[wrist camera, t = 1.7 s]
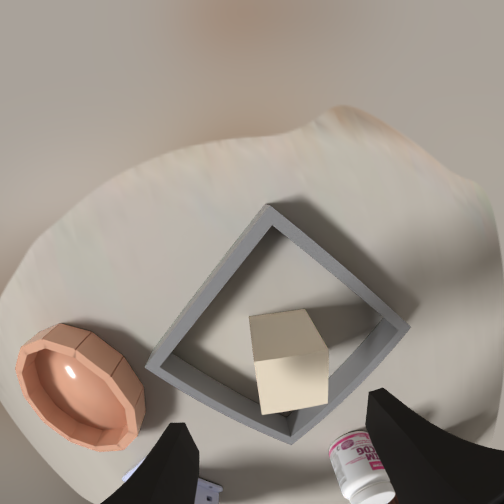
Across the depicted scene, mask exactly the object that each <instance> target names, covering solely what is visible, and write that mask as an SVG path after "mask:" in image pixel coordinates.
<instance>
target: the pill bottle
mask: <svg viewBox="0 0 504 504" xmlns="http://www.w3.org/2000/svg"><path fill="white" fill-rule="evenodd" d="M329 457H330V460H331V463H332V466H333V469H334V472H335V475H336V477H337V480H338V483H339V486H340V489H341V492H342V494H343V496H344V497H345V498H346V499H349V502H350V504H387V503H389V502H390V501H391V500H392V499H393V498H394V496H395V491H394V489H393V486H392V484H391V483H390V482H389V481H390V479H389V477H388V475H387V473H386V471H385V469H384V467H383V465H382V463H381V461H380V459H379V457H378V455H377V453H376V451H375V449H374V447H373V445H372V442H371V439H370V437H369V434H368V433H367V432H364V431H355V432H351V433H347V434H345V435H343V436H341V437H340V438H338V439H337V440H336V441H334V442H333V444H332V445H331V447H330V449H329Z"/></svg>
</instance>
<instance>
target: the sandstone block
mask: <svg viewBox="0 0 504 504" xmlns="http://www.w3.org/2000/svg"><path fill="white" fill-rule="evenodd" d="M249 322H250V331H251V340H252V348H253V357H254V365H255V372H256V379H257V385H258V392H259V399H260V406H261V412H262V415H265V414H272V413H279V412H285V411H291V410H297V409H303V408H308V407H313V406H318V405H323V404H327V403H328V368H329V350H328V348H327V346H326V344H325V343H324V341H323V339H322V338H321V336H320V334H319V332H318V331H317V329H316V327H315V326H314V324H313V322H312V320H311V319H310V317H309V315H308V314H307V312H306V310H305V309H298V310H292V311H285V312H279V313H272V314H264V315H257V316H249Z"/></svg>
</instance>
